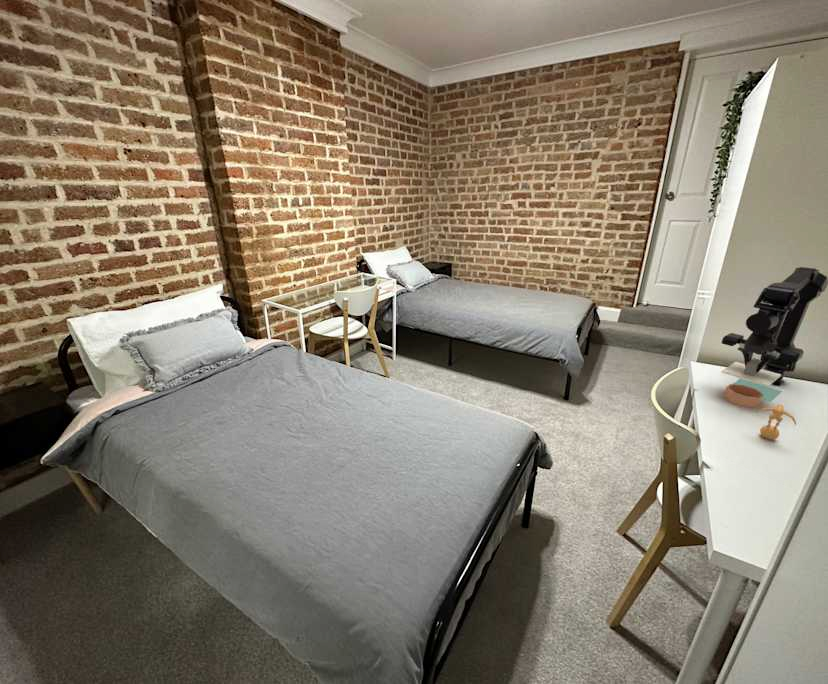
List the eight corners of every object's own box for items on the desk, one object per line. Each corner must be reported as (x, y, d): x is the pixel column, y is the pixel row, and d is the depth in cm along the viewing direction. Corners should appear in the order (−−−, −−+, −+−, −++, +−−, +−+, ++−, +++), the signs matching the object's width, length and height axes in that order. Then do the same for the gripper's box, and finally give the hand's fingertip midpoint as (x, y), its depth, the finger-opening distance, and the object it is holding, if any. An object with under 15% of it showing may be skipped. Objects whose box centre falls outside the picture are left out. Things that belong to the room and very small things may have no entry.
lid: (735, 363, 129) (739, 351, 127) (780, 376, 119) (785, 363, 118) (721, 372, 123) (725, 359, 121) (768, 386, 113) (773, 373, 112)
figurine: (787, 441, 105) (803, 405, 100) (785, 450, 101) (801, 413, 96) (749, 428, 110) (763, 394, 106) (746, 437, 107) (760, 401, 102)
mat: (739, 379, 139) (740, 378, 139) (781, 392, 129) (782, 391, 129) (727, 388, 133) (727, 387, 133) (770, 402, 123) (770, 401, 123)
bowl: (729, 391, 131) (733, 381, 129) (762, 402, 124) (766, 392, 122) (719, 399, 126) (723, 389, 125) (752, 411, 119) (756, 400, 118)
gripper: (721, 323, 118) (708, 366, 124) (801, 340, 103) (781, 389, 109) (735, 316, 123) (721, 358, 129) (812, 332, 109) (793, 378, 115)
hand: (751, 370), depth 120 cm, fingers closed on lid, 2 cm apart
